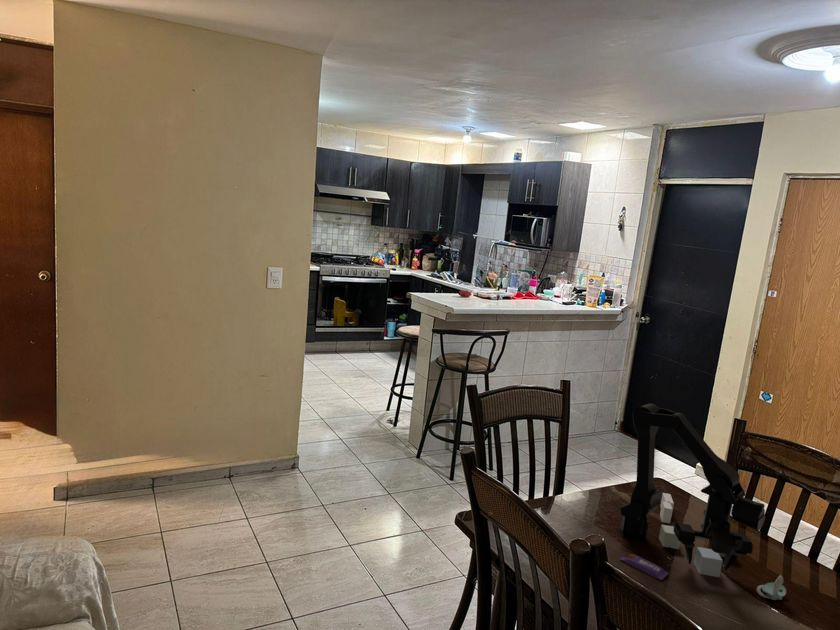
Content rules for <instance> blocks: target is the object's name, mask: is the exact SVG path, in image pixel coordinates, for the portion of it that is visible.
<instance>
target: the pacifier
mask: <svg viewBox="0 0 840 630" xmlns="http://www.w3.org/2000/svg"><path fill="white" fill-rule="evenodd" d="M784 581H785V580H784V577H783V576H782V575H781V574H780V575H779V576H778V577H777V578H776V580H775V581H774V582H767V583H765V584H760V585H758V586H757V587H756V593H757V594H758V595H759V596H760V597H762V598H765V599H770V600H771V601H772V600H773V601H777V600H780V601H782V600H783V597H785V596H786V594H787V589H786V587H785V586H784V585H783V584H784ZM761 590H762V591H761ZM763 592H764V593H763Z"/></svg>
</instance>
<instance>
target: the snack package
mask: <svg viewBox="0 0 840 630" xmlns="http://www.w3.org/2000/svg"><path fill="white" fill-rule="evenodd" d="M619 560H620V561H622V562H624V563H625V564H626V565H629V566H631V567H633V568H635V569H637V570H639V571H641V572H643V573H645V574H647V575H649V576H651V577H653V578H655V579H657V580H660V581H663V580H664V579H665V578H666V577H667V576H668V575H669V574H670V573H669V572H668V571H666V570H664V568H663V567H661V566H659V565H658V564H655V563H653V562H651V561H649V560H647V559H645V558H643V557H641V556H639V555H637V554H634V553H629V552H627V553H626V554H624V555H623V556H622V557H621V558H619Z"/></svg>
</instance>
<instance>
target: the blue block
mask: <svg viewBox="0 0 840 630" xmlns="http://www.w3.org/2000/svg"><path fill="white" fill-rule="evenodd" d="M723 562H724V560H723V559H722V557H721V556H720V555H719V554H718V553H716V552H714V551H713V550H712V548H707V547H701V546H696V551H695V555H694V561H693V564H694V566H695V568H696V570H697V571H698V573H699V575H705V576H710V577H716V578H720V575H721V570H722V566H723Z"/></svg>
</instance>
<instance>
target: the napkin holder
mask: <svg viewBox="0 0 840 630" xmlns="http://www.w3.org/2000/svg"><path fill="white" fill-rule="evenodd" d="M660 501H661V504H659V505H660V506H659V507H660V513H659V516H660V517H659V518H660V520H661V522H662V523H666V524H669V525H670V524H671V520H672V515H673V512H674V510H673V509H674V505H675V503H674V501H673V498H672V495H671V494H670V493H665V492H662V494H661V498H660Z"/></svg>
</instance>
